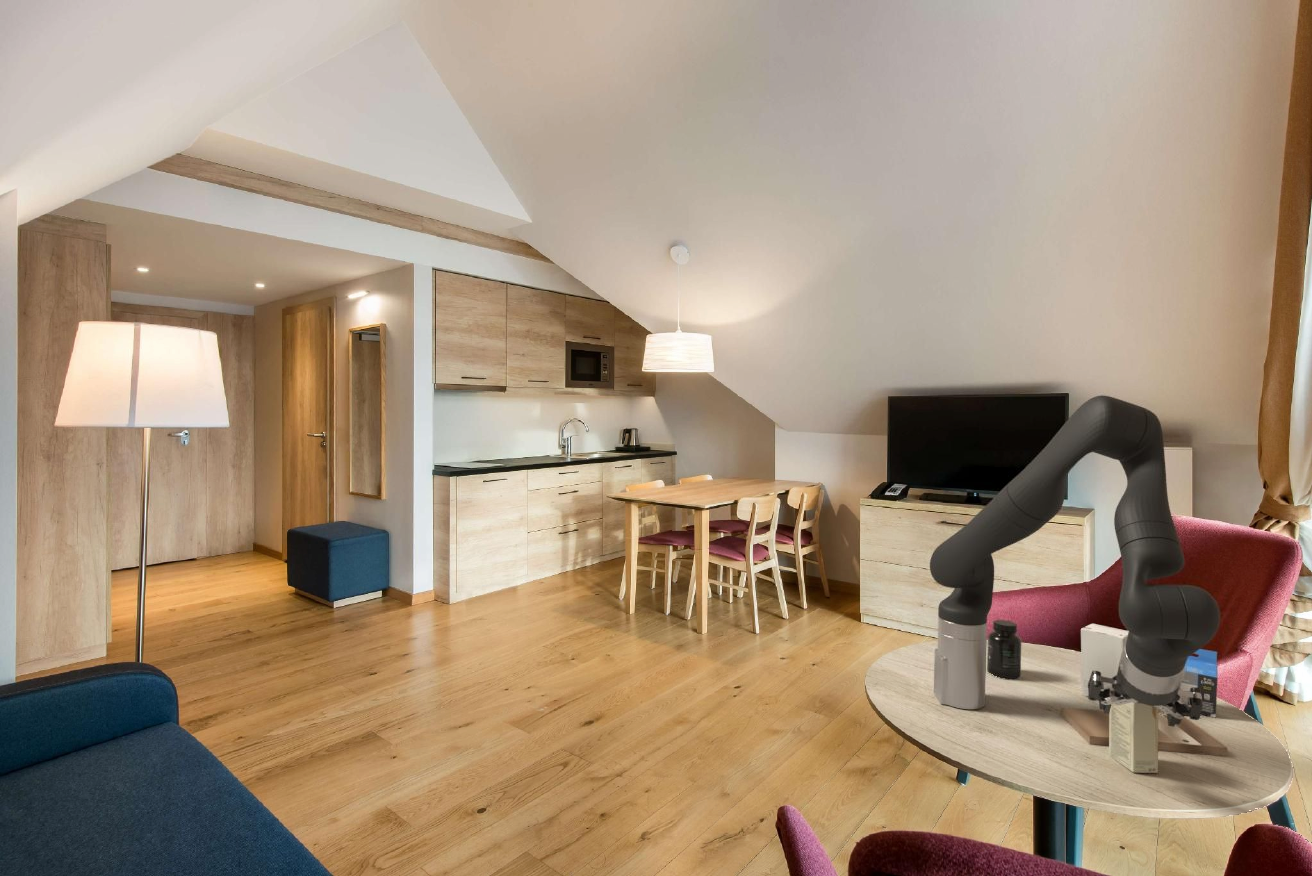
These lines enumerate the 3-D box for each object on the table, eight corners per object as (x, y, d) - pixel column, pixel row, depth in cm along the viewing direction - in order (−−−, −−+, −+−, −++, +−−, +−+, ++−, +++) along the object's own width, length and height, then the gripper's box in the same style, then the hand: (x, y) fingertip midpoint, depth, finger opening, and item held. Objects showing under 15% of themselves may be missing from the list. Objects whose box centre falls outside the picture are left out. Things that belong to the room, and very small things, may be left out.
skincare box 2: (1159, 774, 108) (1161, 701, 108) (1132, 773, 108) (1135, 701, 108) (1131, 754, 115) (1133, 685, 114) (1106, 753, 115) (1108, 685, 114)
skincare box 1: (1135, 702, 136) (1138, 632, 135) (1123, 709, 132) (1125, 637, 132) (1091, 688, 143) (1093, 621, 142) (1078, 694, 139) (1080, 626, 139)
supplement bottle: (983, 667, 154) (984, 617, 154) (1014, 669, 153) (1016, 619, 152) (992, 678, 148) (993, 626, 147) (1025, 681, 146) (1026, 628, 146)
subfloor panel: (1089, 744, 118) (1089, 735, 118) (1060, 714, 130) (1060, 706, 130) (1227, 756, 114) (1227, 746, 114) (1184, 724, 126) (1184, 715, 126)
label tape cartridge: (1159, 705, 134) (1161, 646, 134) (1160, 699, 137) (1162, 641, 137) (1216, 718, 129) (1218, 657, 128) (1215, 711, 132) (1217, 651, 131)
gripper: (1208, 654, 96) (1189, 702, 106) (1092, 637, 103) (1085, 683, 113) (1216, 704, 91) (1195, 748, 101) (1094, 682, 98) (1086, 726, 109)
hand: (1137, 714), depth 107 cm, fingers open, 8 cm apart
